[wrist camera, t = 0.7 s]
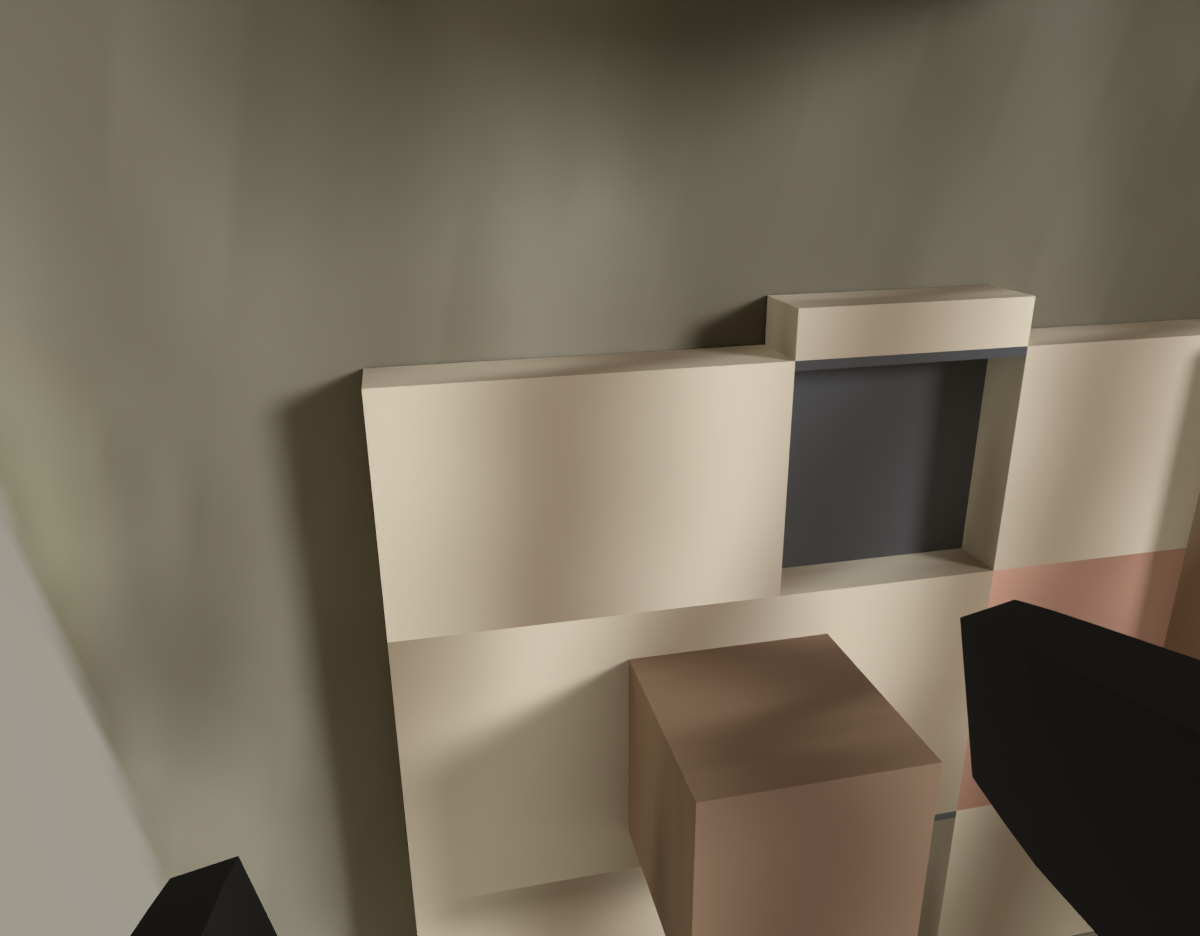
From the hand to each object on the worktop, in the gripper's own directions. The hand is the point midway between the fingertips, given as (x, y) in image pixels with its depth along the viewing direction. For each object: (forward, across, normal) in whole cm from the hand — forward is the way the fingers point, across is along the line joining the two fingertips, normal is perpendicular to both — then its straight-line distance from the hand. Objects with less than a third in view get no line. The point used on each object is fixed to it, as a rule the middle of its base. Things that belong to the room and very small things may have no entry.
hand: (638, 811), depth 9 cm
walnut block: (+9, -3, +7) cm, 12 cm away
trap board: (+10, -6, +8) cm, 14 cm away
